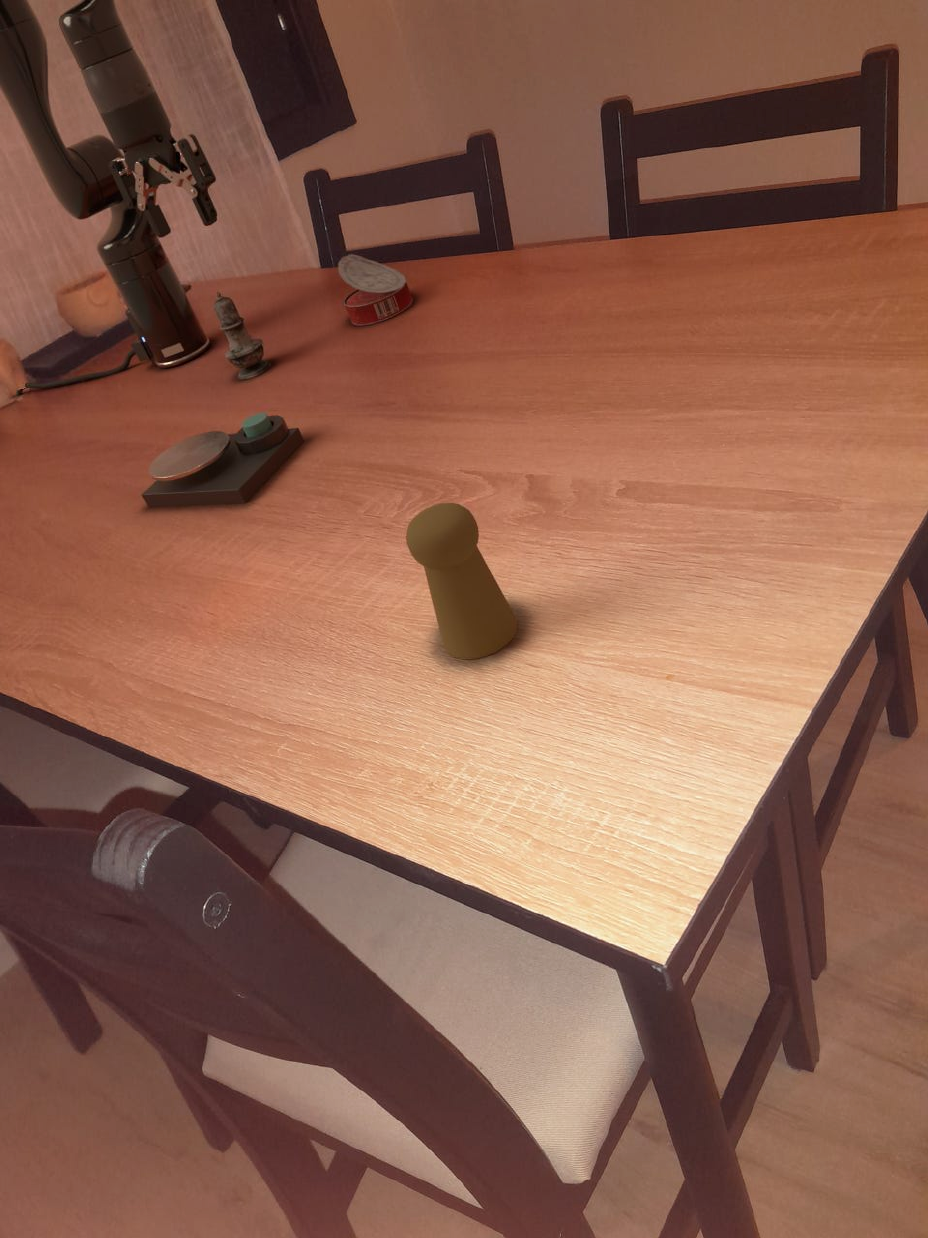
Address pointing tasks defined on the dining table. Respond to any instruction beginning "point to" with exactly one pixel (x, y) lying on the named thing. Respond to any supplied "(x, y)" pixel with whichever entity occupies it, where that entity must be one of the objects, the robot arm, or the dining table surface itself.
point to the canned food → (373, 290)
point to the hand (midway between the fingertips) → (188, 229)
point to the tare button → (256, 425)
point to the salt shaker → (240, 341)
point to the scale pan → (189, 456)
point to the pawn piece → (460, 582)
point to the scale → (231, 470)
